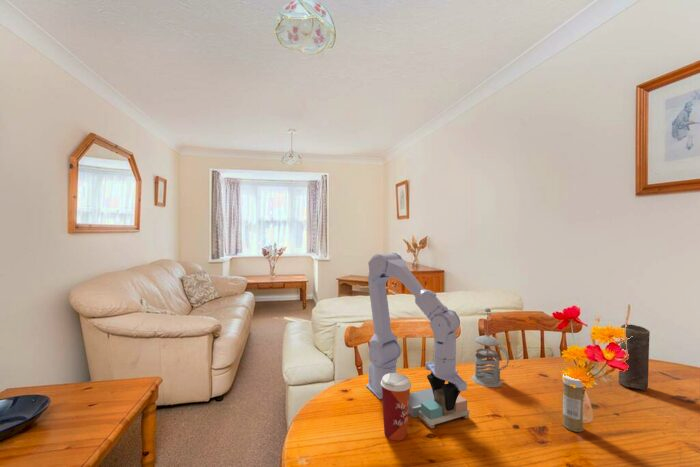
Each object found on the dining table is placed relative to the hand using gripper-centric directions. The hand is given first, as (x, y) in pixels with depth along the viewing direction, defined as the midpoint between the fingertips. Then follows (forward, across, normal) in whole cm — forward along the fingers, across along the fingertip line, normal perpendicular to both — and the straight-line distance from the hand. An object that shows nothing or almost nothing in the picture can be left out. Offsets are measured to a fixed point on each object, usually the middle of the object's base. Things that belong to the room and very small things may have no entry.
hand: (444, 405), depth 88 cm
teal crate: (+1, 0, +4) cm, 5 cm away
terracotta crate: (+1, 0, -4) cm, 5 cm away
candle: (+4, -10, -70) cm, 71 cm away
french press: (+4, +12, -30) cm, 32 cm away
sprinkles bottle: (+4, -16, -28) cm, 33 cm away
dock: (+4, +8, 0) cm, 8 cm away
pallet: (+3, 0, 0) cm, 3 cm away
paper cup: (+4, 0, +16) cm, 16 cm away
